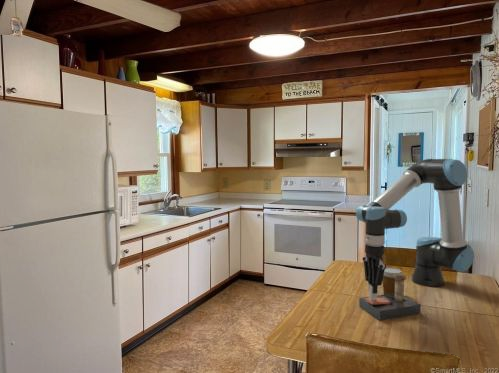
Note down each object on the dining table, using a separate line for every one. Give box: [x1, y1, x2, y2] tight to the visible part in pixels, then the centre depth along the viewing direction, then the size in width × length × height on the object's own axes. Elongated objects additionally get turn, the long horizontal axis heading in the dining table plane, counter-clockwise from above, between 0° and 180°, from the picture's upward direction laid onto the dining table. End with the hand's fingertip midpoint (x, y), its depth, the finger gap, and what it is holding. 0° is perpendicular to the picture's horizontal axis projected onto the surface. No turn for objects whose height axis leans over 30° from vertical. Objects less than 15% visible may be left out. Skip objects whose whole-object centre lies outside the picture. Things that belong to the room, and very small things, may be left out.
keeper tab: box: [365, 296, 393, 305], centre depth 156 cm, size 10×6×1 cm, turn 108°
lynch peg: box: [394, 273, 407, 302], centre depth 159 cm, size 5×5×15 cm
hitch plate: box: [358, 293, 422, 321], centre depth 158 cm, size 20×14×4 cm
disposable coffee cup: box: [382, 267, 403, 295], centre depth 174 cm, size 10×10×12 cm
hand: (372, 299), depth 155 cm, fingers closed
